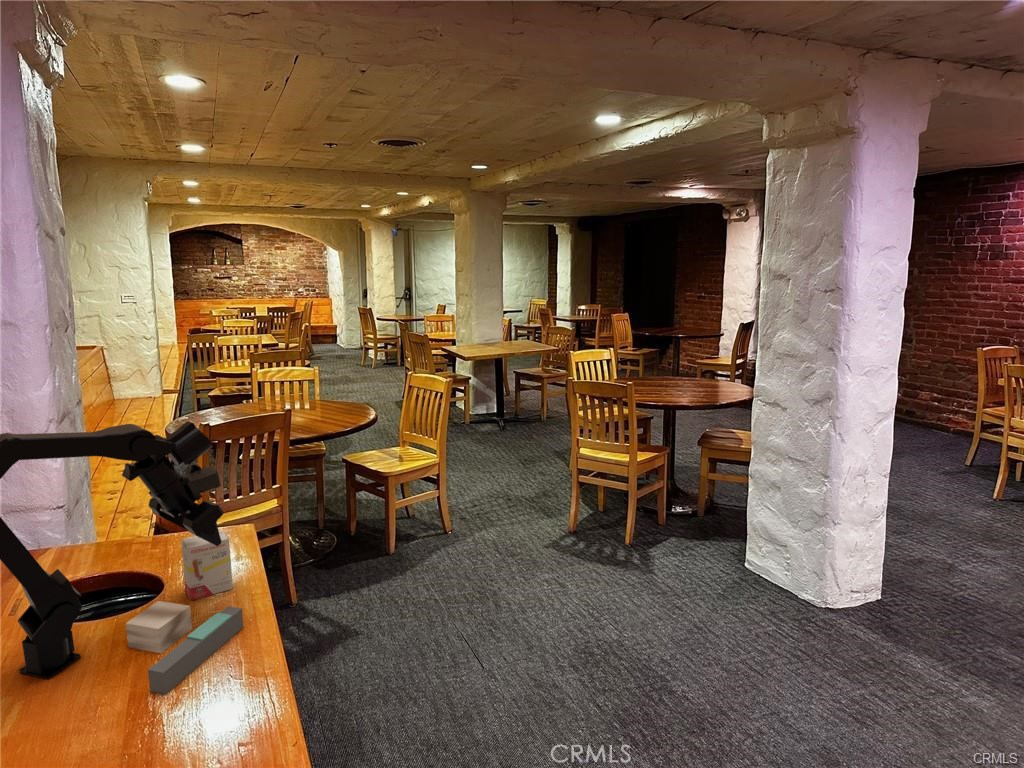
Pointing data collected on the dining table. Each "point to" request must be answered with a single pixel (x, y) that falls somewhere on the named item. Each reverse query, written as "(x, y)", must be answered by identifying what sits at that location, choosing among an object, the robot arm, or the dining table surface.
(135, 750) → the dining table surface
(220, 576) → the ink box
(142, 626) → the pale block
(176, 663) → the dark bar
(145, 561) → the dining table surface
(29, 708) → the dining table surface
